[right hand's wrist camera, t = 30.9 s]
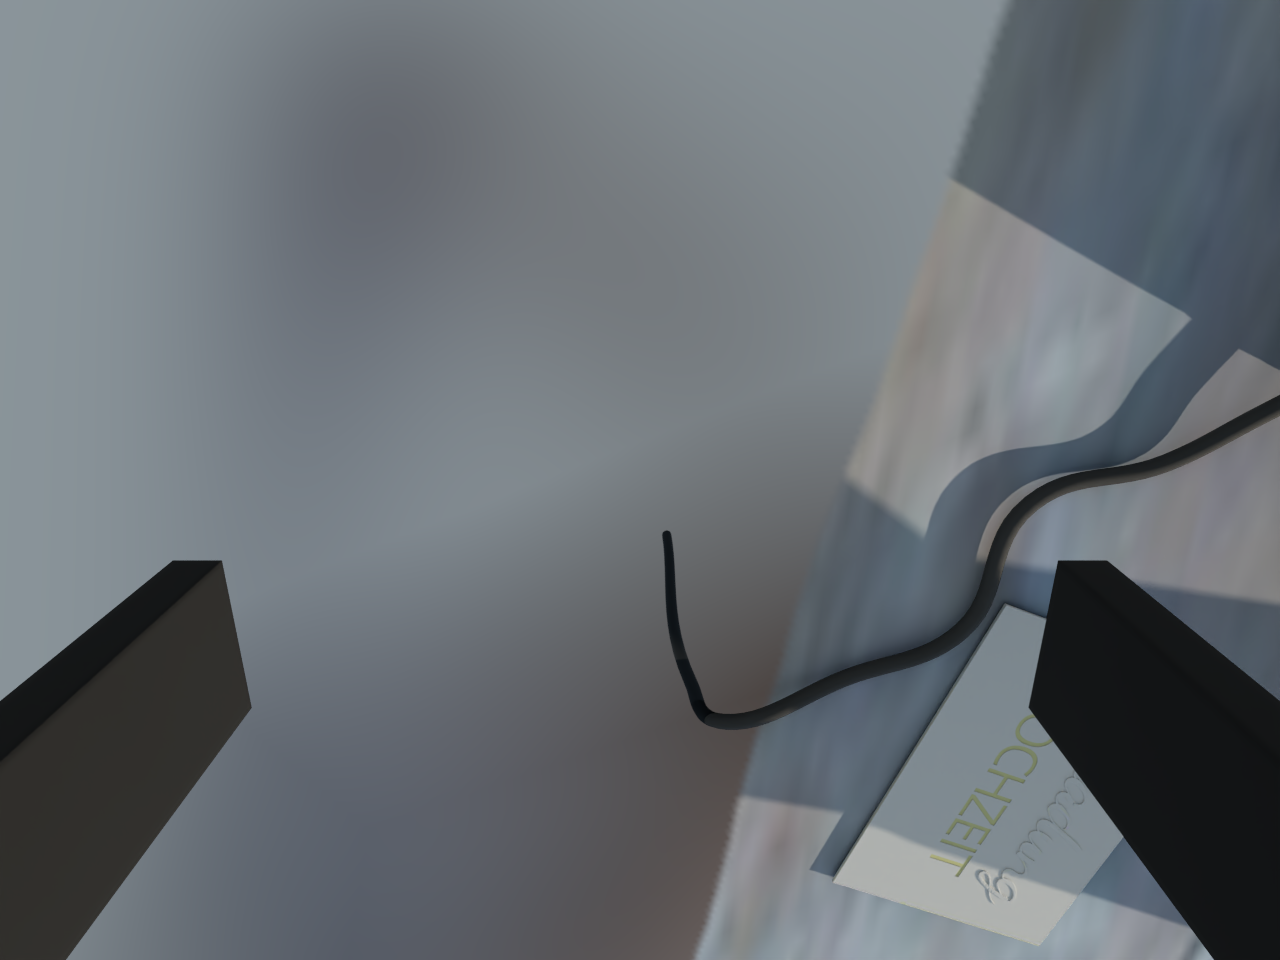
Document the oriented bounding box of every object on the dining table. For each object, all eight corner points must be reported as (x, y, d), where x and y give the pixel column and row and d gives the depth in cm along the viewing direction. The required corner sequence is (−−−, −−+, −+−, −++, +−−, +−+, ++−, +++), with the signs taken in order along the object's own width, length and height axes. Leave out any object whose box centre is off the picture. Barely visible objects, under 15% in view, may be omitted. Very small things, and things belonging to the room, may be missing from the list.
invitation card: (1006, 605, 44) (1237, 690, 45) (1004, 603, 44) (1234, 688, 46) (833, 883, 50) (1039, 947, 52) (832, 879, 51) (1037, 943, 53)
